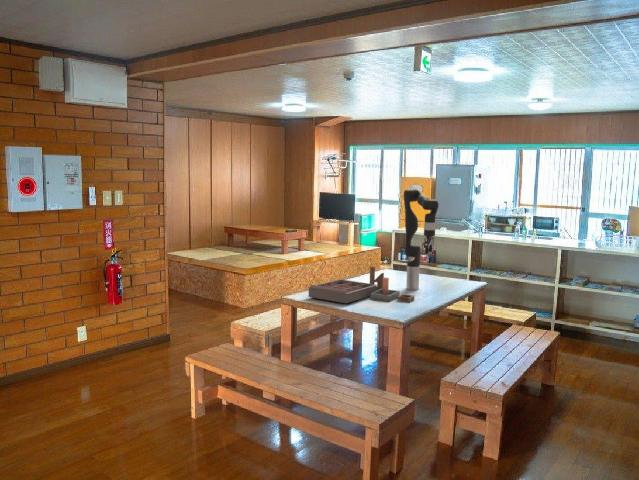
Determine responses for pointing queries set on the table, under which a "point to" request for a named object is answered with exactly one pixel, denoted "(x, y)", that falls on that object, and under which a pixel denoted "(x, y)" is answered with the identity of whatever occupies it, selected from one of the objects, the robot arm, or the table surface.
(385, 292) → the dowel
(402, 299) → the dowel collar
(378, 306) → the table surface
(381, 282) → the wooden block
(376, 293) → the tray
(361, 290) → the organizer tray
